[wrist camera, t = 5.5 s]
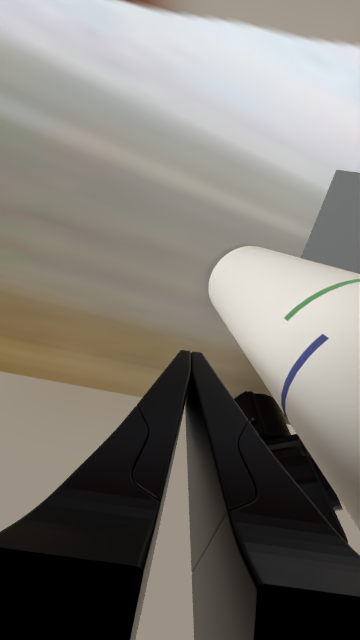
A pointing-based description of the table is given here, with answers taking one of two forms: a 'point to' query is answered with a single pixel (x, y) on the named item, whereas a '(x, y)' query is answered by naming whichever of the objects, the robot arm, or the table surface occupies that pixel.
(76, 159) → the table surface
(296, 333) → the cylindrical container
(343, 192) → the mat
